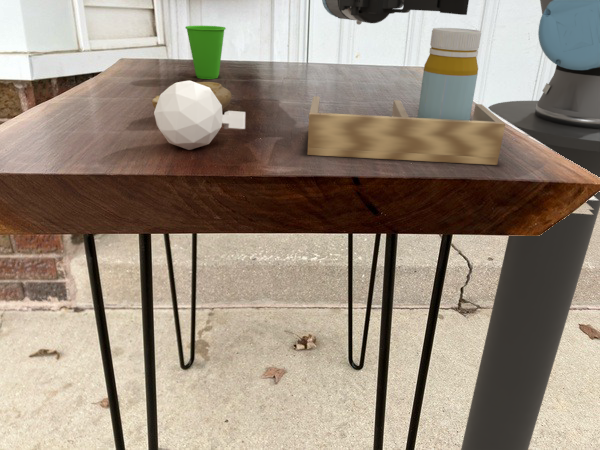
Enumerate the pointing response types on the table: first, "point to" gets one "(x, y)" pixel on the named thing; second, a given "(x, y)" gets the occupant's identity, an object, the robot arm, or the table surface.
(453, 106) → the bottle
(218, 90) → the oil lamp
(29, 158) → the table surface
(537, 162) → the table surface
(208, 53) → the cup
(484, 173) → the table surface
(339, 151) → the rack
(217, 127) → the perfume bottle
